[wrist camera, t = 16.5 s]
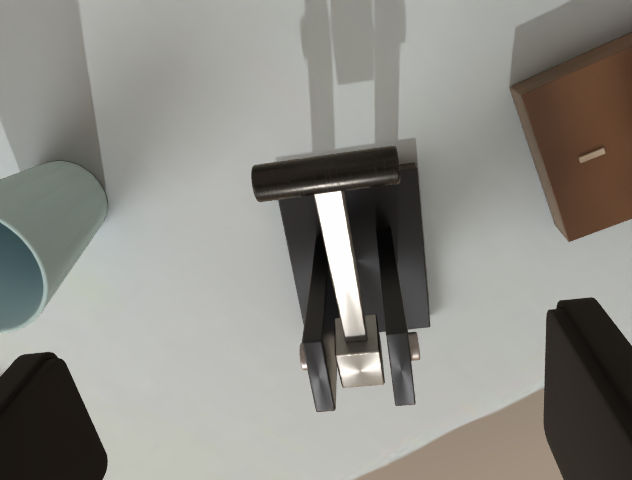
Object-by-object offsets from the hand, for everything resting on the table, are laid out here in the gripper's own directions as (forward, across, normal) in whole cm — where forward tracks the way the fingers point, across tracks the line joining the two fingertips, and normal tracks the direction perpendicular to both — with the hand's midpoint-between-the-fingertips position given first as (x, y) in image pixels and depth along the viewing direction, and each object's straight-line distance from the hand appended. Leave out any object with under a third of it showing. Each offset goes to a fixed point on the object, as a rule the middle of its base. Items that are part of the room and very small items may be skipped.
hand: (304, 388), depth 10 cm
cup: (+26, +19, +4) cm, 32 cm away
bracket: (+25, 0, +10) cm, 27 cm away
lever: (+14, 0, +5) cm, 15 cm away
